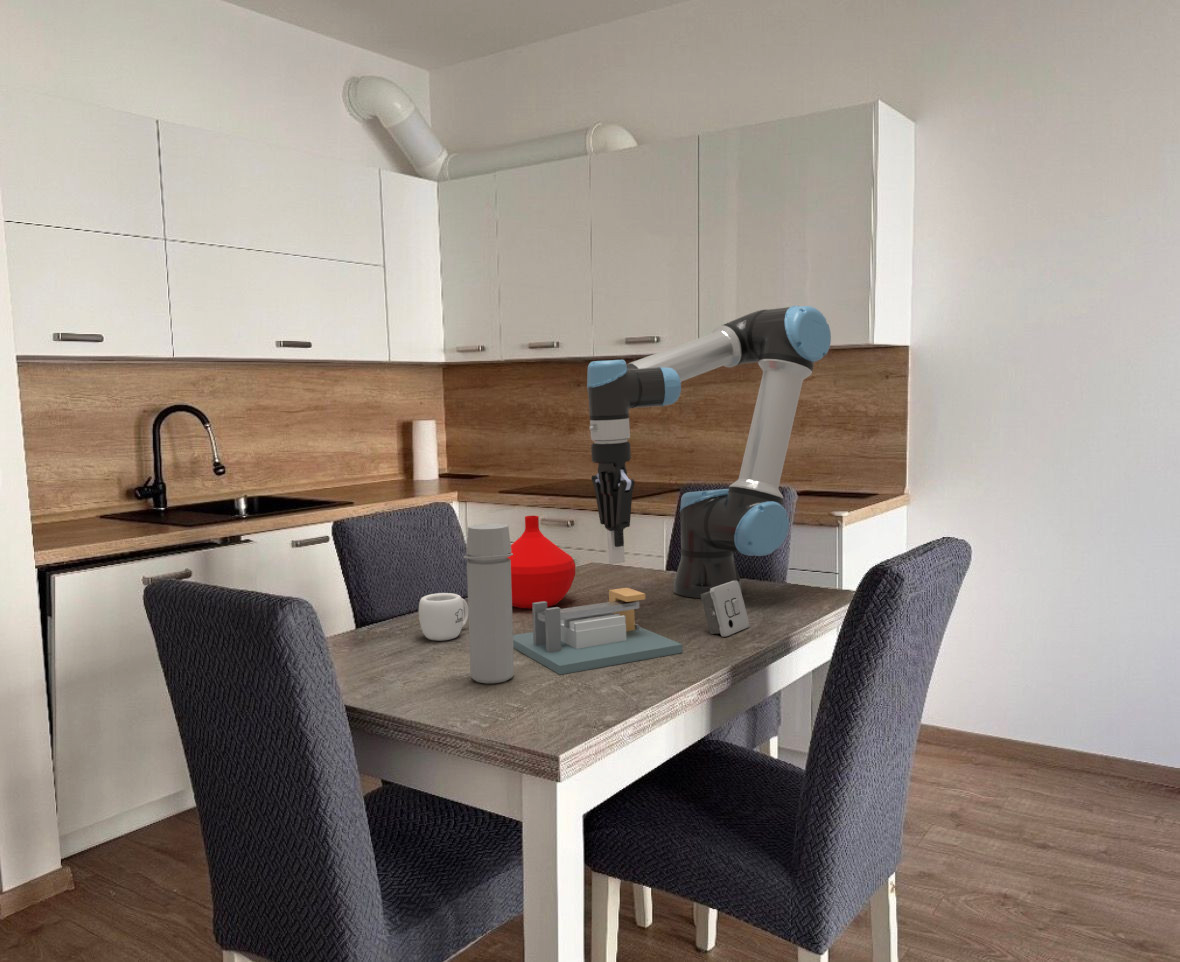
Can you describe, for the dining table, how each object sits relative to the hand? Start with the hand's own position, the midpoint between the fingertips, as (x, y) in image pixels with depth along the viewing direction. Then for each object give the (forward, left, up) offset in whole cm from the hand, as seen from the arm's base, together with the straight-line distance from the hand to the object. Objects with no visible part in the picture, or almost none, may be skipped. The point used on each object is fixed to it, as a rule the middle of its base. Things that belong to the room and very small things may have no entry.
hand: (616, 562), depth 187 cm
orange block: (+4, +10, -11) cm, 15 cm away
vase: (+6, -27, -13) cm, 30 cm away
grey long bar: (+12, +11, -6) cm, 18 cm away
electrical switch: (-15, +14, -13) cm, 25 cm away
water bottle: (+34, +17, -13) cm, 40 cm away
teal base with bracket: (+12, +11, -13) cm, 20 cm away
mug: (+31, -12, -13) cm, 35 cm away
